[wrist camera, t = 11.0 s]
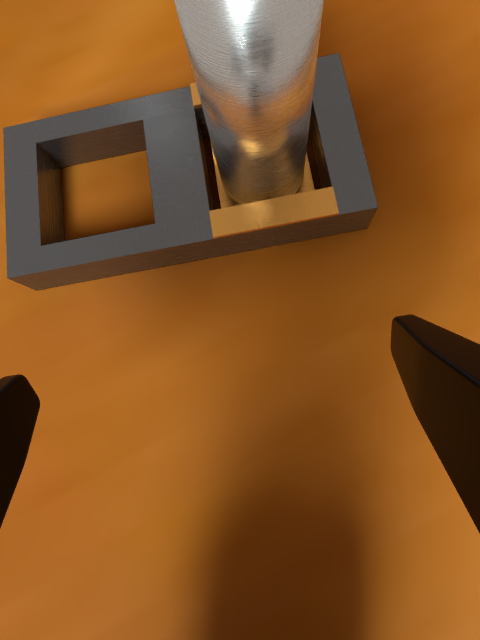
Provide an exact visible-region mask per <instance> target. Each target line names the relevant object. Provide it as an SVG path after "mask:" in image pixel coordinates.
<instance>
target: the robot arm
mask: <svg viewBox="0 0 480 640" xmlns="http://www.w3.org/2000/svg"><path fill="white" fill-rule="evenodd" d="M391 352H392V356H393V359H394V361H395V364H396V366H397V369H398V371H399V374H400V377H401V379H402V382H403V384H404V387H405V389H406V392H407V395H408V397H409V400H410V402H411V405H412V407H413V409H414V411H415V413H416V415H417V417H418V419H419V421H420V423H421V425H422V427H423V429H424V431H425V433H426V434H427V436H428V438H429V440H430V442H431V444H432V446H433V447H434V449H435V451H436V453H437V455H438V457H439V459H440V460H441V462H442V464H443V466H444V468H445V470H446V472H447V473H448V475H449V477H450V479H451V481H452V483H453V485H454V486H455V488H456V490H457V492H458V494H459V496H460V498H461V499H462V501H463V503H464V505H465V507H466V509H467V511H468V512H469V514H470V516H471V518H472V520H473V522H474V524H475V525H476V527H477V529H478V531H479V533H480V344H478V343H476V342H473V341H471V340H469V339H467V338H464V337H462V336H460V335H458V334H455V333H453V332H451V331H449V330H446V329H444V328H442V327H440V326H437V325H435V324H433V323H430V322H428V321H426V320H424V319H421V318H419V317H417V316H415V315H403V316H397V317H395V318H394V319H393V321H392V330H391ZM39 408H40V400H39V398H38V396H37V394H36V393H35V391H34V389H33V388H32V386H31V385H30V383H29V382H28V380H27V378H26V377H25V376H23V375H20V374H19V375H12V376H6V377H3V378H2V379H0V528H1V525H2V523H3V520H4V517H5V515H6V512H7V509H8V507H9V504H10V501H11V499H12V496H13V493H14V491H15V488H16V486H17V483H18V480H19V478H20V475H21V472H22V469H23V467H24V464H25V460H26V457H27V454H28V450H29V446H30V442H31V439H32V435H33V431H34V427H35V423H36V420H37V416H38V412H39Z"/></svg>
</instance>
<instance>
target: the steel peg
mask: <svg viewBox="0 0 480 640" xmlns="http://www.w3.org/2000/svg"><path fill="white" fill-rule="evenodd" d="M174 1H175V5H176V9H177V13H178V17H179V20H180V24H181V28H182V32H183V36H184V40H185V43H186V47H187V51H188V55H189V59H190V63H191V66H192V70H193V74H194V78H195V82H196V85H197V89H198V93H199V97H200V101H201V105H202V108H203V112H204V116H205V120H206V124H207V128H208V131H209V135H210V139H211V143H212V147H213V151H214V154H215V158H216V162H217V166H218V170H219V174H220V177H221V181H222V185H223V187H224V189H225V191H226V193H227V194H228V195H229V196H230V198H231V199H233V200H234V201H235V202H237V203H238V204H240V205H242V204H247V203H252V202H257V201H262V200H267V199H272V198H277V197H282V196H287V195H292V194H295V193H296V192H297V190H298V189H299V187H300V185H301V183H302V180H303V176H304V167H305V158H306V150H307V141H308V133H309V124H310V116H311V107H312V98H313V90H314V81H315V73H316V64H317V56H318V47H319V38H320V30H321V21H322V13H323V4H324V0H174Z"/></svg>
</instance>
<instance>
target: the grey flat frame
mask: <svg viewBox="0 0 480 640" xmlns="http://www.w3.org/2000/svg"><path fill="white" fill-rule="evenodd" d="M309 133H310V138H311V142H312V147H313V151H314V156H315V161H316V165H317V170H318V174H319V179H320V183H321V188H322V189H318V190H315V189H314V184H313V180H312V175H311V170H310V166H309V161H308V156H307V152H306V158H305V167H304V176H303V180H302V183H301V185H300V187H299V189H298V190H297V192H296V193H295V194H292V195H287V196H282V197H277V198H272V199H267V200H262V201H257V202H252V203H247V204H242V205H240V204H238V203H237V202H235V201H234V200H233V199H231V198H230V196H229V195H228V194H227V193H226V191H225V189H224V187H223V185H222V181H221V177H220V174H219V170H218V166H217V162H216V158H215V154H214V151H213V147H212V143H211V147H212V153H213V160H214V166H215V172H216V179H217V185H218V192H219V198H220V204H221V209H216V210H214V206H213V199H212V193H211V186H210V180H209V173H208V167H207V160H206V153H205V147H204V140H203V138H204V137H209V136H210V135H209V131H208V128H207V124H206V120H205V116H204V112H203V108H202V105H201V101H200V97H199V93H198V89H197V85H196V82H194V83H190V86H189V87H185V88H180V89H176V90H171V91H167V92H162V93H158V94H153V95H149V96H144V97H140V98H135V99H131V100H126V101H122V102H117V103H113V104H109V105H104V106H100V107H95V108H91V109H86V110H82V111H77V112H73V113H68V114H64V115H59V116H55V117H50V118H46V119H41V120H37V121H32V122H28V123H24V124H19V125H15V126H10V127H6V128H3V134H4V170H5V207H6V243H7V278H8V279H10V280H13V281H15V282H17V283H20V284H22V285H25V286H27V287H29V288H32V289H34V290H42V289H47V288H53V287H58V286H63V285H69V284H74V283H79V282H85V281H90V280H95V279H101V278H106V277H111V276H117V275H122V274H127V273H133V272H138V271H143V270H149V269H154V268H159V267H165V266H170V265H175V264H181V263H186V262H191V261H197V260H202V259H207V258H213V257H218V256H223V255H229V254H234V253H239V252H245V251H250V250H255V249H261V248H266V247H271V246H277V245H282V244H287V243H292V242H298V241H303V240H308V239H314V238H319V237H324V236H330V235H335V234H340V233H346V232H351V231H356V230H362V229H367V228H368V226H369V224H370V222H371V220H372V218H373V216H374V214H375V212H376V210H377V208H378V205H377V201H376V197H375V193H374V189H373V185H372V181H371V177H370V173H369V169H368V165H367V161H366V157H365V153H364V149H363V145H362V141H361V137H360V133H359V130H358V126H357V122H356V118H355V114H354V110H353V106H352V102H351V98H350V94H349V90H348V86H347V82H346V78H345V74H344V70H343V66H342V62H341V58H340V54H339V53H337V54H332V55H328V56H323V57H319V58H317V64H316V73H315V81H314V90H313V98H312V107H311V116H310V124H309ZM210 141H211V140H210ZM143 150H147V158H148V166H149V175H150V184H151V192H152V201H153V209H154V218H155V224H150V225H145V226H140V227H135V228H130V229H125V230H120V231H114V232H109V233H104V234H99V235H94V236H89V237H84V238H79V239H74V240H69V241H65V232H64V216H63V200H62V184H61V168H63V167H68V166H72V165H77V164H82V163H86V162H91V161H96V160H101V159H105V158H110V157H115V156H119V155H124V154H129V153H133V152H138V151H143Z"/></svg>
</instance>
